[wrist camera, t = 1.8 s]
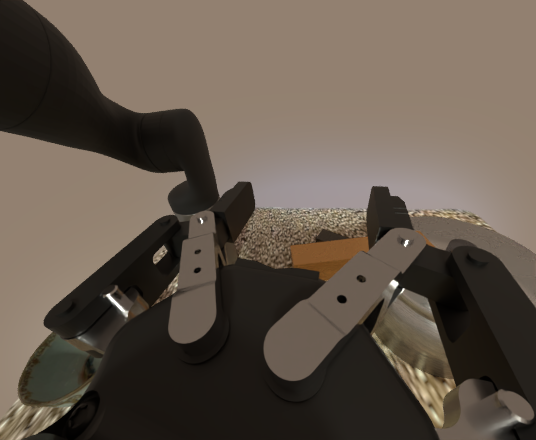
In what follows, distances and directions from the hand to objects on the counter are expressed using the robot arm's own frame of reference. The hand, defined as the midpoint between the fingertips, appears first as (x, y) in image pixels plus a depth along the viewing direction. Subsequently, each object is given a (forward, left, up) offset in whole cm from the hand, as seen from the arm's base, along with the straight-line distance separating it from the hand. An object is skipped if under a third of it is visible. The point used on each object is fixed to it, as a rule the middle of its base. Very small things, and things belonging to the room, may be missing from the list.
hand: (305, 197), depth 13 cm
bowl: (-9, -32, -30) cm, 45 cm away
